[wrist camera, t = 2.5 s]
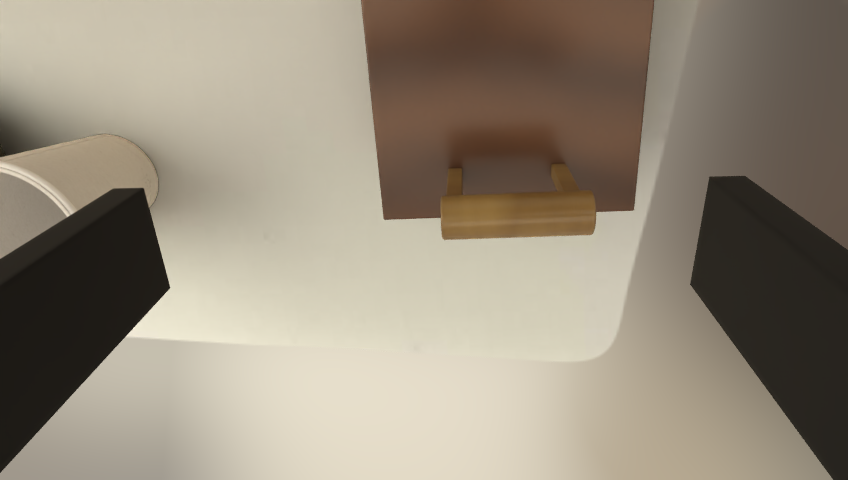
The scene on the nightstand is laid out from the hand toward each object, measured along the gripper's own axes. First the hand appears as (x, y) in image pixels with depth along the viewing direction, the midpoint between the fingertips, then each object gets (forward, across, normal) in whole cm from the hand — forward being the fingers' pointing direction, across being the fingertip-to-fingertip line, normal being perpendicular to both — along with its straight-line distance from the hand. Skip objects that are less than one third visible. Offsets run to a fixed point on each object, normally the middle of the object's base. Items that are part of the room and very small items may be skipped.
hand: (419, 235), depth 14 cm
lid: (+15, +3, +1) cm, 16 cm away
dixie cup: (+22, -22, -6) cm, 32 cm away
